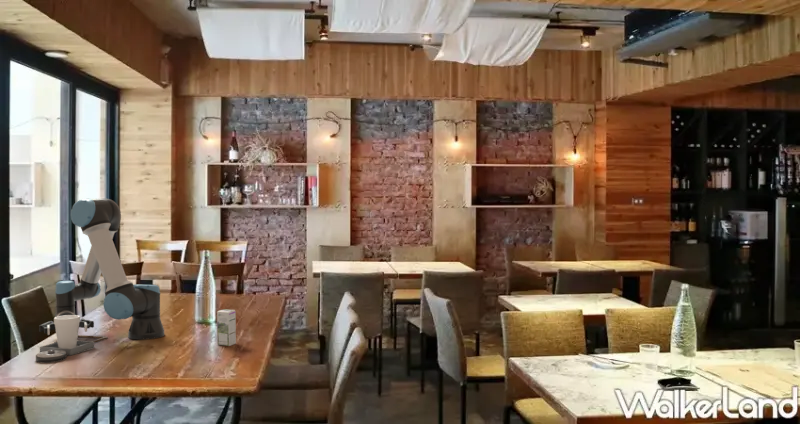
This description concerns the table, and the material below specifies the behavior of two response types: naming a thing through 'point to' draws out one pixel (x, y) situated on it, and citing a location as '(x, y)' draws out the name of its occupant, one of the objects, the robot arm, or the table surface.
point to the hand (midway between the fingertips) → (67, 329)
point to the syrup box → (226, 327)
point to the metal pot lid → (51, 356)
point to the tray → (79, 348)
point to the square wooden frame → (100, 338)
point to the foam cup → (67, 330)
